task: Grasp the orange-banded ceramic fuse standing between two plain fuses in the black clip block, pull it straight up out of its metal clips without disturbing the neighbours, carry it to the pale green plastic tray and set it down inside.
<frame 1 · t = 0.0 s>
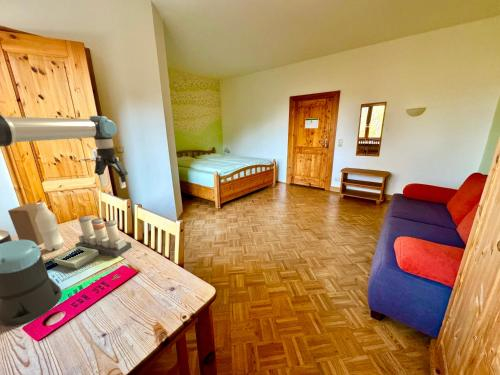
hand: (113, 187, 111), 28 cm above the table, fingers open, 13 cm apart
water bottle: (55, 248, 105), on the table
clip block: (104, 248, 104), on the table
tray: (78, 259, 95), on the table
marked fuse: (102, 243, 103), point 3 cm above the table, touching clip block
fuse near: (115, 245, 101), point 3 cm above the table, touching clip block
fuse far: (90, 240, 105), point 3 cm above the table, touching clip block
wooden block: (39, 240, 113), on the table
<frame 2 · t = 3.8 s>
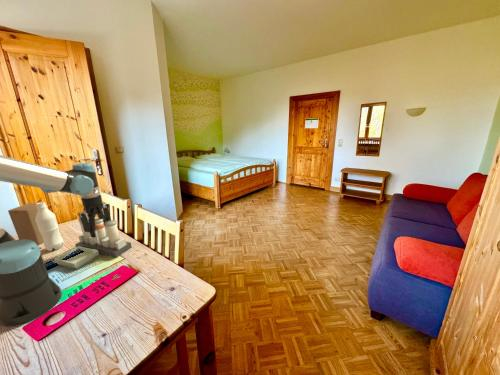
hand: (102, 239, 102), 5 cm above the table, fingers closed on marked fuse, 4 cm apart
marked fuse: (102, 243, 103), point 3 cm above the table, touching clip block, gripper
everything else where it was.
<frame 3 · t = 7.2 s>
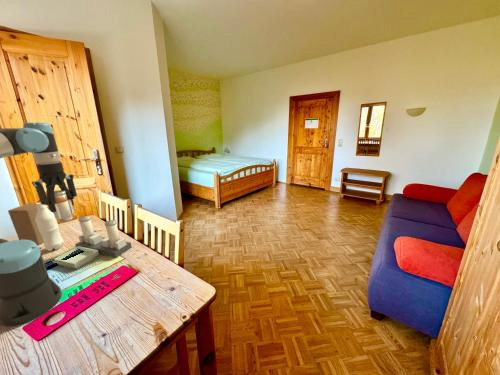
hand: (65, 215, 89), 23 cm above the table, fingers closed on marked fuse, 4 cm apart
marked fuse: (66, 220, 89), point 20 cm above the table, touching gripper
everything else where it was.
when the fingers open (4 cm above the table, at t = 10.6 s): marked fuse drops 1 cm, resting on tray.
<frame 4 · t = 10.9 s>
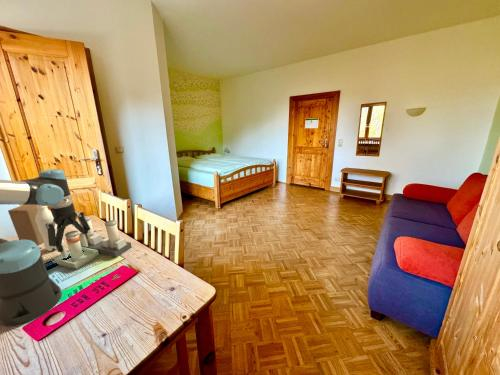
hand: (75, 251, 94), 5 cm above the table, fingers open, 8 cm apart
marked fuse: (77, 258, 95), point 1 cm above the table, touching tray
everything else where it was.
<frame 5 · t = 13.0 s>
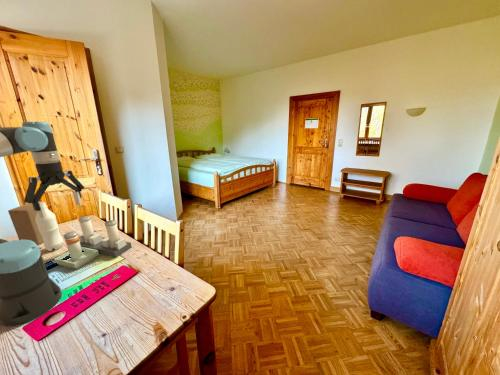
hand: (62, 210, 88), 25 cm above the table, fingers open, 13 cm apart
nothing on the table moved.
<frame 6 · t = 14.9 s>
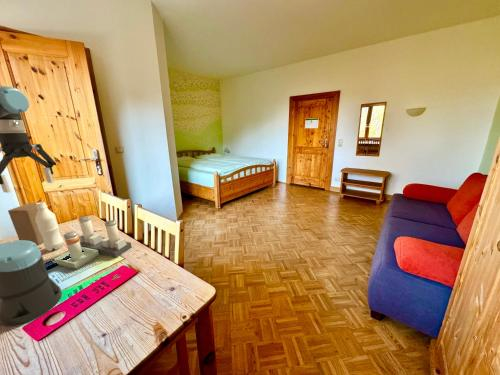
hand: (30, 187, 81), 37 cm above the table, fingers open, 13 cm apart
nothing on the table moved.
at the end: marked fuse inside the target area on the tray (0.0 cm from its centre), point 0.8 cm above the tray's base; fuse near moved 0.0 cm from its start; fuse far moved 0.0 cm from its start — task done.
